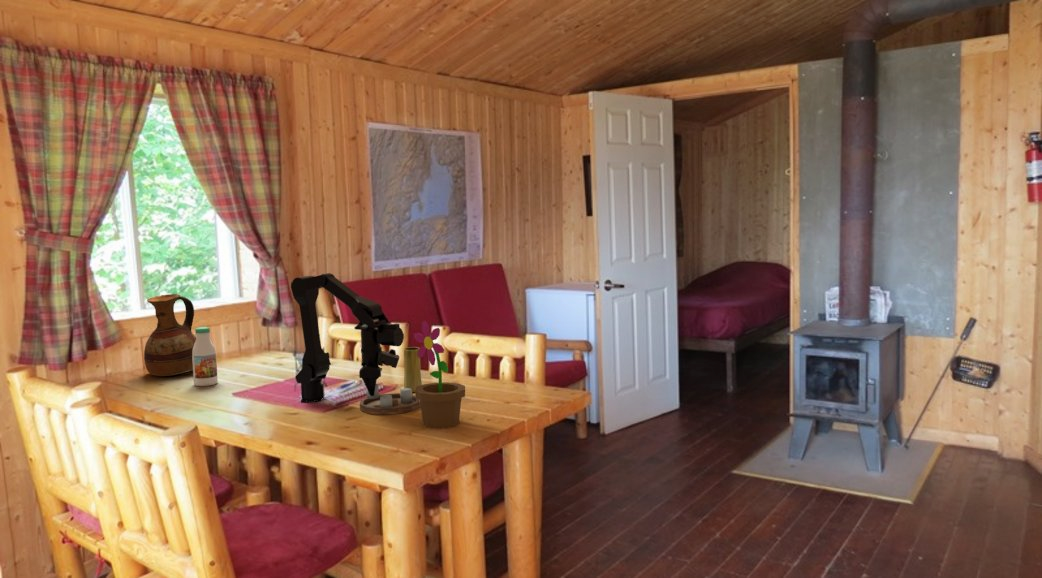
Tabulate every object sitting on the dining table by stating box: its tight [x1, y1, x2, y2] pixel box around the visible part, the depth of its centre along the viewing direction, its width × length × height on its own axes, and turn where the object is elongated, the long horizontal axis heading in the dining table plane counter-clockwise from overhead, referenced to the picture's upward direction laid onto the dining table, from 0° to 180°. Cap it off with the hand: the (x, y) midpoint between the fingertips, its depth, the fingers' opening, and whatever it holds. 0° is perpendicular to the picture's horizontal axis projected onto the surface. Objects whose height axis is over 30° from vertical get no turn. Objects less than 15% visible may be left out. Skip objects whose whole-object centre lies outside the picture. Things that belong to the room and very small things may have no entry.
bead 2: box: [380, 395, 393, 408], centre depth 232 cm, size 4×4×4 cm
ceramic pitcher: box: [143, 293, 197, 377], centre depth 286 cm, size 20×20×30 cm
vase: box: [403, 346, 423, 394], centre depth 256 cm, size 6×6×14 cm
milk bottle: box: [192, 326, 219, 387], centre depth 269 cm, size 8×8×20 cm
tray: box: [359, 392, 421, 416], centre depth 237 cm, size 18×18×2 cm
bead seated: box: [399, 387, 413, 404], centre depth 239 cm, size 4×4×4 cm
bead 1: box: [366, 383, 380, 399], centre depth 237 cm, size 4×4×4 cm
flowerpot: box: [413, 320, 466, 430], centre depth 217 cm, size 14×14×30 cm
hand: (372, 394), depth 237 cm, fingers closed on bead 1, 4 cm apart
